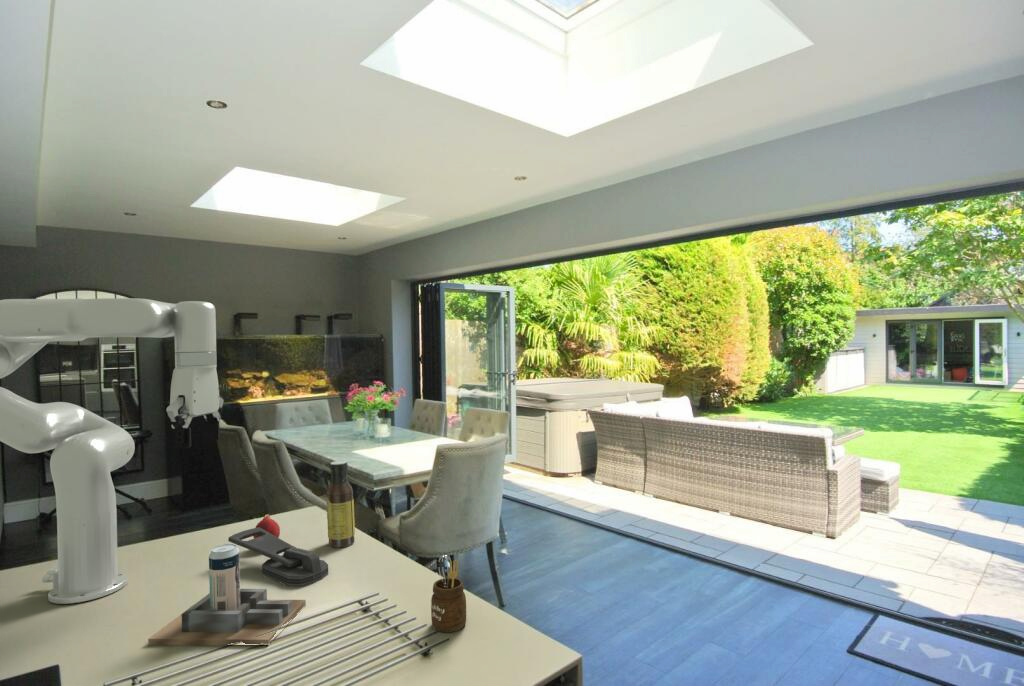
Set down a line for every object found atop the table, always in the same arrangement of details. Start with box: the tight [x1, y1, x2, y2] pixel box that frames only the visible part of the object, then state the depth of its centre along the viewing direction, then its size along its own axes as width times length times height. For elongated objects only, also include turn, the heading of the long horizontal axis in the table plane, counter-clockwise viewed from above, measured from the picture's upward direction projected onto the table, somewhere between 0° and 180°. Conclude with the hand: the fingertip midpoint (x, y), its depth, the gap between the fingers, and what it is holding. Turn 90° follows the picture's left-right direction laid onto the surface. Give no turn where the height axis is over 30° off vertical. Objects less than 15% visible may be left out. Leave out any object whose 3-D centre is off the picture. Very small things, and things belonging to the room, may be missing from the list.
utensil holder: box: [430, 555, 467, 633], centre depth 95 cm, size 6×6×12 cm
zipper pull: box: [227, 527, 329, 588], centre depth 121 cm, size 9×7×25 cm
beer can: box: [208, 543, 241, 611], centre depth 97 cm, size 5×5×12 cm
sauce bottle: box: [326, 460, 356, 548], centre depth 136 cm, size 6×6×20 cm
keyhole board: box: [147, 588, 307, 647], centre depth 97 cm, size 20×14×4 cm
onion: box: [252, 514, 281, 539], centre depth 134 cm, size 6×6×8 cm
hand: (197, 443), depth 116 cm, fingers open, 9 cm apart
